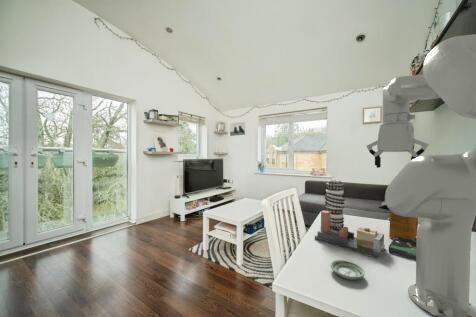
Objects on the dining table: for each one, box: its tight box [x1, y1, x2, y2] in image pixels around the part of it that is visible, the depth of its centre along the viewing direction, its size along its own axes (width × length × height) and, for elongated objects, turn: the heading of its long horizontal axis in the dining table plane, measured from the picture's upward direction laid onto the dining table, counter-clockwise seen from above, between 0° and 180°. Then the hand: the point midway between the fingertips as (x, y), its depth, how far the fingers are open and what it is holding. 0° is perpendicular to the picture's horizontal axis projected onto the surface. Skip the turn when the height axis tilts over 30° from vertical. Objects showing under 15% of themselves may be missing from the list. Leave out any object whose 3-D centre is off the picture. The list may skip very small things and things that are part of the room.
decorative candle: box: [324, 179, 346, 229], centre depth 100 cm, size 9×9×25 cm
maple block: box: [356, 226, 378, 249], centre depth 81 cm, size 5×6×7 cm
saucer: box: [329, 259, 366, 280], centre depth 64 cm, size 10×10×2 cm
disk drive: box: [388, 236, 417, 261], centre depth 80 cm, size 10×3×15 cm
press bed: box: [314, 227, 386, 259], centre depth 86 cm, size 11×24×6 cm, turn 44°
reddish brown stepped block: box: [320, 210, 349, 238], centre depth 90 cm, size 7×10×10 cm
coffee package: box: [388, 210, 419, 241], centre depth 91 cm, size 10×12×22 cm
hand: (394, 168), depth 71 cm, fingers open, 9 cm apart
